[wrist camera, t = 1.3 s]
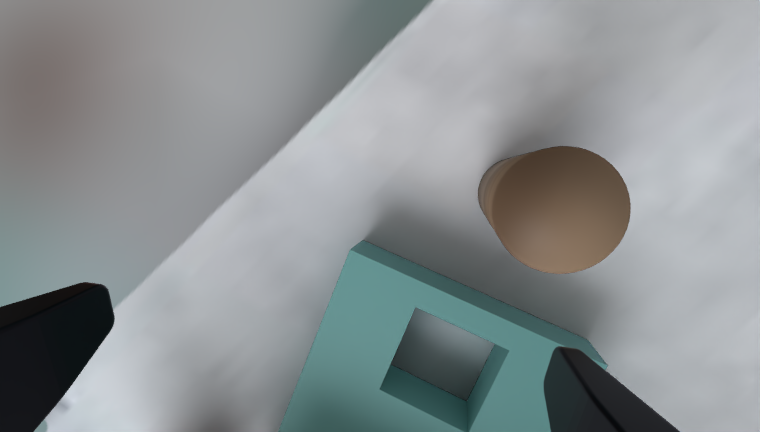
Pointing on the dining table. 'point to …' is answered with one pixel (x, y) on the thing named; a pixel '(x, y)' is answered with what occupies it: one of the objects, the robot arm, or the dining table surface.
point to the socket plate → (402, 390)
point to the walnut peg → (556, 208)
